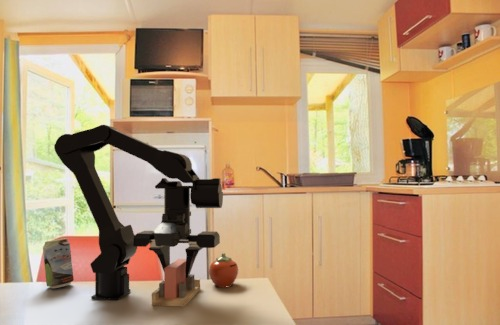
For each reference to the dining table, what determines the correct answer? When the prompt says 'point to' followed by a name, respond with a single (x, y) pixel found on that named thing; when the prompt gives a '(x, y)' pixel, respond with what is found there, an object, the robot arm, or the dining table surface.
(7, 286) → the dining table surface
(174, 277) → the pink rectangular block
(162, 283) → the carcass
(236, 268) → the tomato
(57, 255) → the printed carton
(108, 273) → the robot arm
